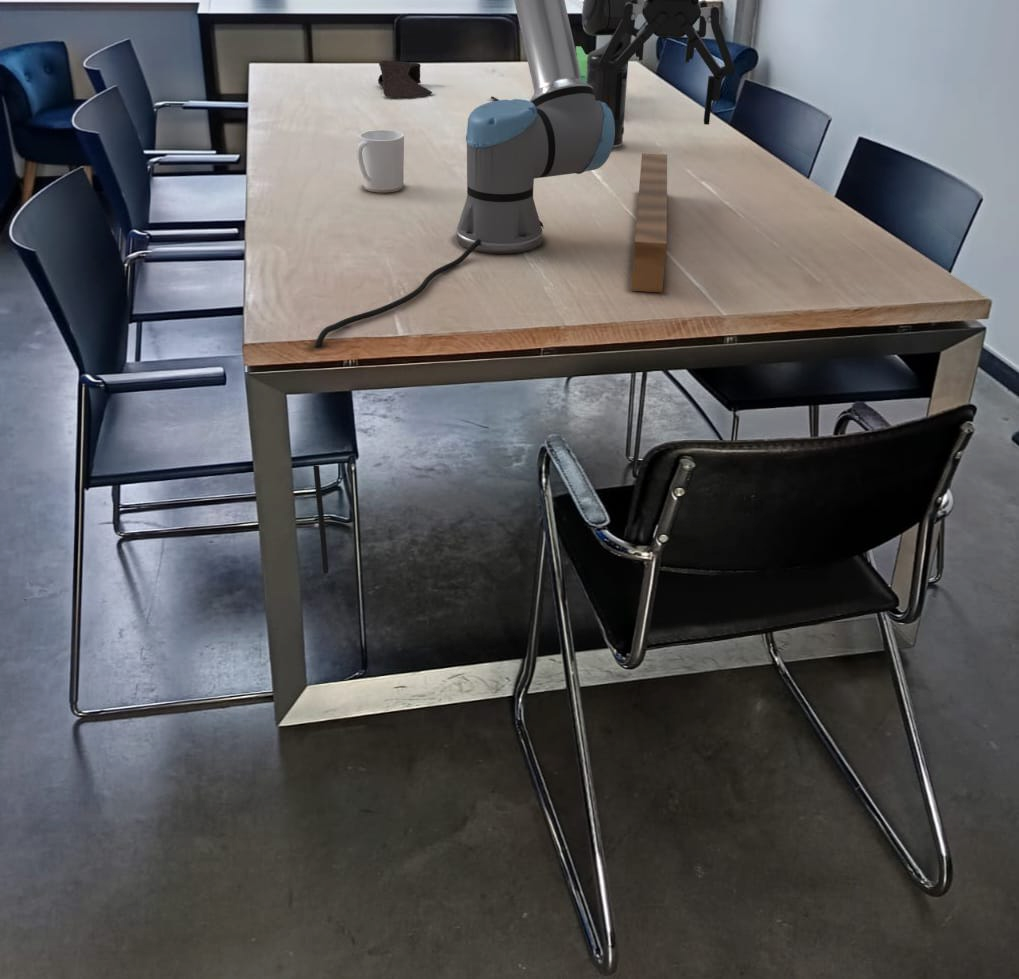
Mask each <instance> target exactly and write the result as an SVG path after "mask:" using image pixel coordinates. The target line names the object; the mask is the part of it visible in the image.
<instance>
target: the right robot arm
mask: <svg viewBox="0 0 1019 979" xmlns="http://www.w3.org/2000/svg"><path fill="white" fill-rule="evenodd" d="M628 1H630V2H632V3H633V4H638V5H644V4H645V3H646V0H583V5H582V10H581V24H582V29H583V31H584V32H585V33H586V34H587V35H589V36H596V37H597V36H601V37H602V36H603V37H604V36H610V38H609V40H608V41H607V42H606V43H605V44H603V45H602V46H600V47H599V48H596V49H595V50H593V51H590V52H589V53H588V54H587V55H588V57H587V73H586V83H587V84H589V85H591V86H592V88H593V92H594V96H595V101H601V102H604V103H606V104H607V105H608V107H609V108H610V109H611V111H612V114H613V118H614V119H615V104H616V96H610V95H609V81H610V74H609V72H608V71H606V70H604V69H600V68H599V61H600V59H601V57H602V55H603V53H604V51H605V50H606V48H607V46H608V44H609V42H610V40H611V39H612V37H613V35H614V33H615V31H616V29H617V28H618V26H619V24H620V22H621V20H622V18H623V15H624V9H625V5H626V3H627V2H628ZM699 6H700V8H704V7H708V2H707V0H701V1H699ZM698 20H699V21H698V29H697V30H696V32H697V34H698V35H699V37H700V38H702V39H703V38H705V37H706V35H707V22H706V21H705V18H704V17H703V16H700V17H699V19H698ZM647 24H648V23H647V21H646V20H645V21H644V22H643V24H642V25H641V26H640V27H639V28H637V27H635V25H636V19H635V20H631V21H630V24H629V26H628V28H627V30H626V32H625V33H624V35H623V37H622V39H621V41H620V42H619V44H618V46H617V48H616V50H615V52H614V53H613V55H612V57H611V59H610V61H611V62H613V63H614V61H615V60H616V59H617V58H618V57H619V56H620V55H621V54H622V53H623V52H624V50H625V49H626V48H627V47H628V46H629V45H630V44H631V43H632V42H633V37H635V38H636V37H637V36H638V35H639V34H640V33H641V31H642V30H643V29H644V28H645V27H646V26H647ZM644 46H645V43H644V44H643V45H642V46H641V47H640V48H639V49H638V51H637V52H636V53H635V57H636V58H638V61H641V62H643V59H644ZM694 55H695V47H694V46H693V44H692V43H691V42H690V40H689V39H688V38H687V39H686V48H685V57H684V58H685V59H684V62H685V63H690V60H693V59H694ZM629 61H630V59H629V60H628V62H627V63H626V64H625V65H624V66H623V67H622V68H621V69H620V70H619V71H618V72H623V81H622V95H621V109H620V119H619V120H614V124H615V137H614V144H613V147H612V150H618V149H620V148H622V147H623V144H624V140H623V139H624V138H623V137H624V134H625V114H626V113H625V112H626V102H627V101H626V99H627V85H628V72H629ZM490 99H491V100H493V101H499V100H500V99H498V98H497V97H495V96H493V95H492V96H491V97H490Z"/></svg>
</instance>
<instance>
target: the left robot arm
mask: <svg viewBox="0 0 1019 979" xmlns="http://www.w3.org/2000/svg"><path fill="white" fill-rule="evenodd" d="M513 1H514V6H515V10H516V15H517V19H518V24H519V28H520V33H521V37H522V43H523V46H524V47H523V48H524V52H525V55H526V61H527V64H528V69H529V75H530V78H531V83H532V86H533V87H532V88H533V95H532V96H531V97H530V100H527V99H522V98H521V99H520V98H519V99H517V98H515V99H498V100H499V101H495V100H493V101H490V102H486V103H483V104H481V105H479V106H476V107H475V108H474V109H473V110H472V111H471V112H470V114H469V115H468V117H467V126H466V135H465V142H466V192H467V193H466V198H465V202H464V205H463V209H462V211H461V214H460V218H459V220H458V224H457V227H456V241H457V243H458V244H459V245H461V246H462V247H464V248H466V250H465V251H464V252H463V253H462V254H461V255H460V256H459V257H457V258H456V259H455V260H453V261H452V262H449V263H447V264H444V265H442V266H440V267H438V268H437V269H434V270H433V271H432V272H431V273H429V275H427V277H425V278H424V280H423V281H422V282H421V284H420V285H419V286H418V287H417V288H415V289H414V290H413V291H411V292H409V293H408V294H406V295H404V296H403V297H401V298H399V299H397V300H395V301H392V302H390V303H388V304H386V305H383V306H381V307H378V308H376V309H373V310H369V311H365V312H362V313H359V314H355V315H352V316H350V317H346V318H344V319H342V320H339V321H338V322H334V323H333V324H330V325H328V326H325V328H323V329H322V330H321V331H320V332H319V334H318V337H317V338H316V341H315V344H314V349H320V348H321V347H322V345H323V342H324V340H325V339H326V337H327V335H328V334H329V333H332V332H334V331H336V330H339V329H341V328H343V327H346V326H348V325H350V324H353V323H356V322H359V321H362V320H365V319H369V318H373V317H375V316H378V315H381V314H383V313H386V312H388V311H390V310H393V309H395V308H397V307H399V306H402V305H404V304H405V303H407V302H409V301H410V300H412V299H414V298H415V297H417V296H418V295H419V294H421V293H422V292H423V291H424V290H425V289H426V288H427V287H428V285H429V284H430V283H431V281H432V280H433V279H435V277H437V276H439V275H440V274H442V273H444V272H446V271H449V270H450V269H452V268H455V267H457V266H458V265H460V264H461V263H462V262H463V261H464V260H466V259H467V258H468V257H469V256H470V254H472V252H473V251H475V252H479V253H486V254H497V255H499V254H500V255H506V254H507V255H508V254H517V253H524V252H527V251H530V250H533V249H536V248H538V247H539V246H540V245H541V244H542V243H543V229H545V228H544V227H545V226H544V223H543V222H542V220H541V219H540V218H539V214H538V213H539V212H538V210H537V206H536V204H535V199H534V184H535V179H540V178H548V177H549V178H550V177H558V176H564V175H571V174H576V175H581V174H583V173H585V172H586V173H587V172H590V171H596V170H598V169H601V168H602V167H603V166H604V165H605V164H606V163H607V161H608V159H609V157H610V156H611V153H612V150H613V149H612V147H613V144H614V137H615V124H614V120H619V119H620V109H621V95H622V81H623V72H618V71H619V70H620V69H621V68H622V67H623V66H624V65H625V64H626V63H627V62H628V63H629V61H630V59H632V57H634V55H636V52H637V51H638V49H639V48H640V47H641V46H642V45H643V44H644V45H645V43H646V42H647V41H648V40H650V38H651V37H652V36H653V35H655V36H656V37H657V38H658V39H665V38H673V39H678V40H680V39H681V38H683V37H685V36H686V38H687V39H689V40H690V42H691V43H692V44H693V46H694V50H696V52H697V53H698V54H699V56H700V58H701V59H702V60H703V62H704V63H705V65H706V66H707V68H708V69H709V71H710V73H711V75H708V78H707V86H706V96H705V104H704V114H703V125H708V126H709V125H710V121H711V113H712V112H711V111H712V104H713V102H719V101H720V98H721V89H722V81H723V79H724V78H726V77H729V76H732V75H735V73H736V67H735V63H734V61H733V58H732V55H731V53H730V50H729V47H728V43H727V41H726V38H725V35H724V32H723V29H722V27H721V23H720V9H719V8H720V7H719V6H718V4H713V5H711V6H707V7H704V8H700V6H699V2H700V0H646V3H645V4H644V5H638V4H633V3H632V2H630V1H628V2H627V3H626V5H625V9H624V15H623V18H622V20H621V22H620V24H619V26H618V28H617V29H616V31H615V33H614V35H613V37H612V39H611V40H610V39H609V40H610V42H609V44H608V46H607V48H606V50H605V51H604V53H603V55H602V57H601V59H600V61H599V68H600V69H604V70H606V71H608V72H609V74H610V81H609V95H610V96H616V104H615V119H614V118H613V114H612V111H611V109H610V108H609V107H608V105H607V104H606V103H604V102H601V101H595V96H594V92H593V88H592V86H591V85H589V84H587V83H586V82H584V81H583V80H582V78H581V73H580V69H579V64H578V59H577V53H576V46H575V41H574V37H573V33H572V27H571V24H570V19H569V14H568V10H567V6H566V0H513ZM640 14H642V16H643V18H644V20H645V21H647V23H648V24H647V26H646V27H645V28H644V29H643V30H642V31H641V33H640V34H639V35H638V36H637V37H635V38H634V39H632V41H631V44H630V45H629V46H628V47H627V48H626V49H625V50H624V52H623V53H622V54H621V55H620V56H619V57H618V58H617V59H616V60H615V61H614V63H613V62H611V61H610V59H611V57H612V55H613V53H614V52H615V50H616V48H617V46H618V44H619V42H620V41H621V39H622V37H623V35H624V33H625V32H626V30H627V28H628V26H629V24H630V21H631V20H635V21H636V20H637V18H638V16H639V15H640ZM700 16H703V17H704V18H705V21H706V24H710V26H711V30H712V33H713V36H714V39H715V42H716V45H717V48H718V50H719V53H720V56H721V59H722V62H723V64H724V66H720V65H719V63H718V62H717V61H716V58H714V56H713V55H712V53H711V51H710V50H709V49H708V47H707V45H706V44H705V43H704V42H703V39H701V38H700V37H699V35H698V34H697V32H696V31H697V30H696V29H695V27H694V25H695V24H696V23H697V21H698V20H699V19H700ZM628 60H629V61H628ZM312 467H313V468H312V470H313V478H314V489H315V490H314V491H315V500H316V508H317V518H318V528H319V537H320V538H319V539H320V549H321V561H322V562H321V563H322V573H323V574H328V573H329V559H328V557H329V556H328V546H327V533H326V532H327V531H326V523H325V522H326V521H325V512H324V503H323V493H322V482H321V470H320V465H315V464H313V466H312Z"/></svg>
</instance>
